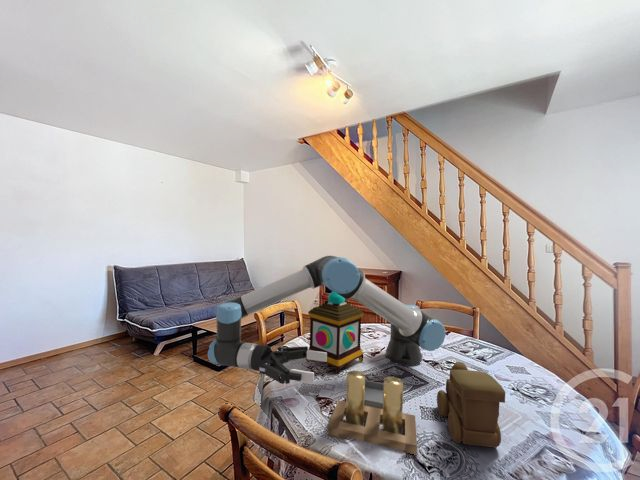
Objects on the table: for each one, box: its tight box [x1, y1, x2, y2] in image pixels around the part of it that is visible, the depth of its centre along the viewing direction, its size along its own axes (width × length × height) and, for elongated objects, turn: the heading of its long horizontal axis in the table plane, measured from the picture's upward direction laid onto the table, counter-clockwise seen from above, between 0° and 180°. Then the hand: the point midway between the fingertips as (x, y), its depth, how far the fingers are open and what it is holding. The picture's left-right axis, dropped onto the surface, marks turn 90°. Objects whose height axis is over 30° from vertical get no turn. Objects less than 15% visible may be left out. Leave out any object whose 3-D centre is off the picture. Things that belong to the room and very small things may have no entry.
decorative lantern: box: [305, 291, 365, 375], centre depth 117 cm, size 20×20×30 cm
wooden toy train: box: [436, 361, 506, 449], centre depth 77 cm, size 20×11×17 cm, turn 173°
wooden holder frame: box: [327, 399, 418, 456], centre depth 76 cm, size 22×12×2 cm, turn 74°
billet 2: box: [381, 376, 404, 435], centre depth 74 cm, size 5×5×14 cm
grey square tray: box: [364, 379, 384, 409], centre depth 90 cm, size 12×12×2 cm
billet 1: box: [344, 370, 366, 427], centre depth 77 cm, size 5×5×14 cm
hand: (320, 366), depth 82 cm, fingers open, 13 cm apart
